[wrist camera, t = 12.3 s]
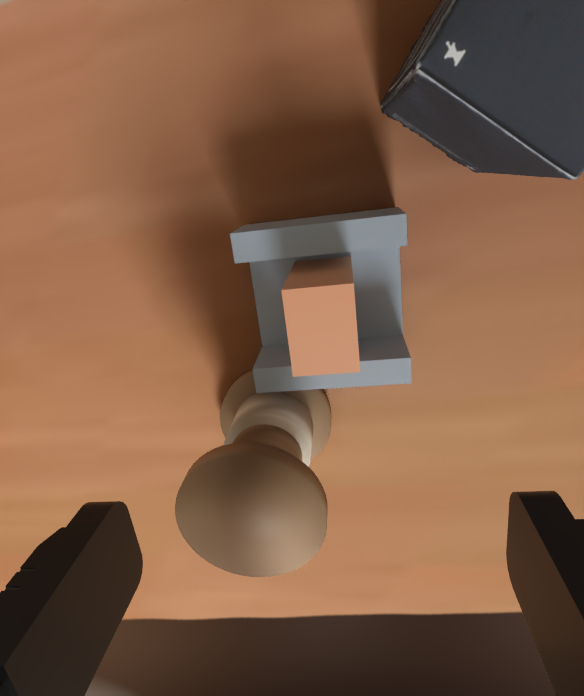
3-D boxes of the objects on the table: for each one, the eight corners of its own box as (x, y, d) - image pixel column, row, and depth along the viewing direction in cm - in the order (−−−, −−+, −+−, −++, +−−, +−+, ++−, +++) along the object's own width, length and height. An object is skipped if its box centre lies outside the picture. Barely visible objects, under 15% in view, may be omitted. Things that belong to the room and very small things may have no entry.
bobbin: (325, 361, 28) (318, 451, 19) (335, 457, 31) (333, 576, 22) (214, 368, 29) (160, 458, 20) (233, 461, 31) (191, 577, 23)
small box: (481, 181, 23) (580, 194, 14) (375, 109, 23) (399, 71, 13) (645, -46, 20) (941, -250, 10) (522, -141, 19) (713, -461, 9)
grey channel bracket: (395, 205, 24) (406, 213, 20) (400, 350, 27) (411, 383, 23) (247, 222, 25) (229, 233, 21) (268, 360, 28) (256, 393, 24)
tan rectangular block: (351, 255, 24) (353, 283, 19) (356, 326, 26) (360, 372, 20) (294, 261, 25) (281, 289, 19) (303, 331, 26) (292, 376, 21)
